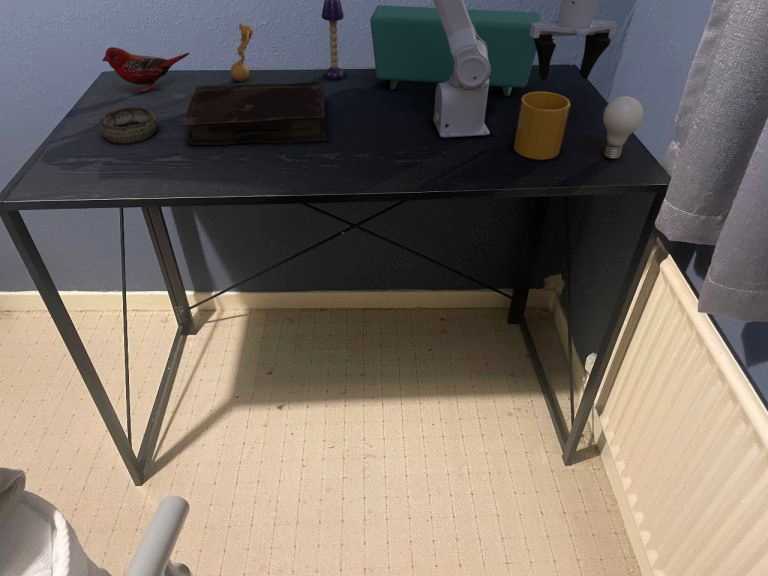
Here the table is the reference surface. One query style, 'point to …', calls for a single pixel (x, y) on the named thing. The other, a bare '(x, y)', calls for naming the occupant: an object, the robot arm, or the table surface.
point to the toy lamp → (333, 35)
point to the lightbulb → (621, 123)
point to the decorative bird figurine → (139, 66)
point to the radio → (432, 50)
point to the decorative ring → (128, 134)
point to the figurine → (242, 55)
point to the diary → (257, 114)
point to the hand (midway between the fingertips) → (563, 77)
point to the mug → (541, 125)
